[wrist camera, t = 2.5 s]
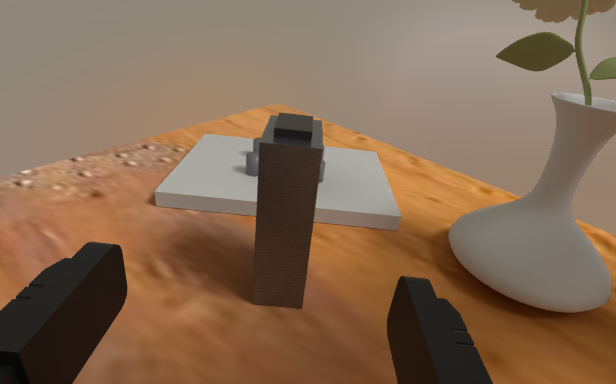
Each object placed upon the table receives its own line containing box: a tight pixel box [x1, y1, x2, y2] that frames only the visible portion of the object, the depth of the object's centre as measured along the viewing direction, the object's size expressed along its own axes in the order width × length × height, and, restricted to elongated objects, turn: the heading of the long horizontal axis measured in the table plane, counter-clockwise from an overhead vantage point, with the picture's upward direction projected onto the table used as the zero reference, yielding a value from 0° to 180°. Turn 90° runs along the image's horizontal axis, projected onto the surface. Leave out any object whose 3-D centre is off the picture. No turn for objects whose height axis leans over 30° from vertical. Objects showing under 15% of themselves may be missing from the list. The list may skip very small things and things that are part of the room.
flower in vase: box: [448, 0, 616, 313], centre depth 23 cm, size 13×11×25 cm
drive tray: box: [154, 134, 402, 230], centre depth 38 cm, size 22×16×4 cm
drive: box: [253, 113, 323, 309], centre depth 22 cm, size 3×5×12 cm, turn 179°
